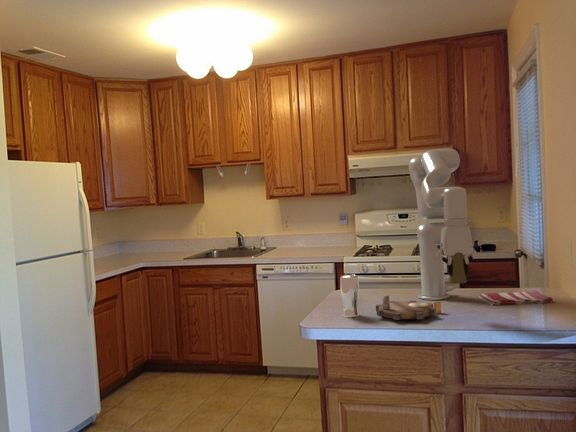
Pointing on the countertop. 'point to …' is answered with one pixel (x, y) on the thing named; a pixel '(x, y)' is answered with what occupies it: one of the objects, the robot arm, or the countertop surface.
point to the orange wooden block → (436, 305)
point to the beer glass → (350, 295)
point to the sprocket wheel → (404, 309)
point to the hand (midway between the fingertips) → (457, 274)
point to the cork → (458, 269)
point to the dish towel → (515, 298)
